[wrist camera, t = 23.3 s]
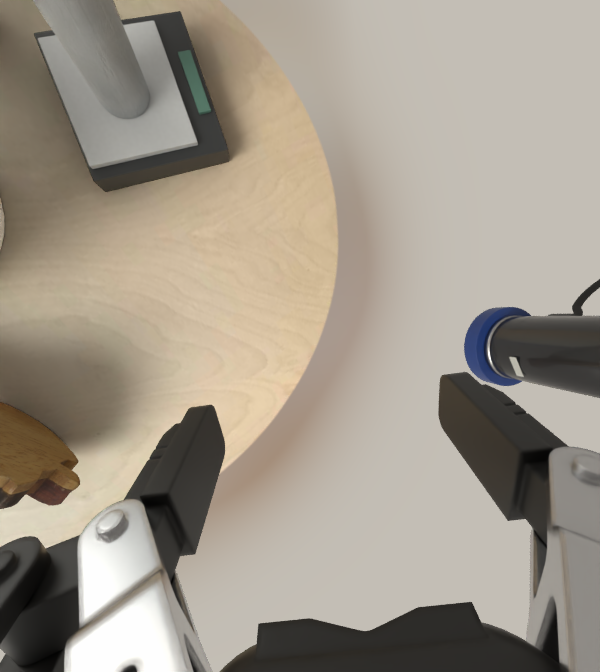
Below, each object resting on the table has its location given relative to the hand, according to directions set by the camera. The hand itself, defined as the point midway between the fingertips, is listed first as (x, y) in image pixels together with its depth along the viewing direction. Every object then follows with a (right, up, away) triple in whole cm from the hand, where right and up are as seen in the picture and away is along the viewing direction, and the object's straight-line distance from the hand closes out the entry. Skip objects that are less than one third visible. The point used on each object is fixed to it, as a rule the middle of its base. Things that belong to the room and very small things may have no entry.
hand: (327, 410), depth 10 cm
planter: (-17, +25, +16) cm, 34 cm away
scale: (-17, +26, +19) cm, 36 cm away
